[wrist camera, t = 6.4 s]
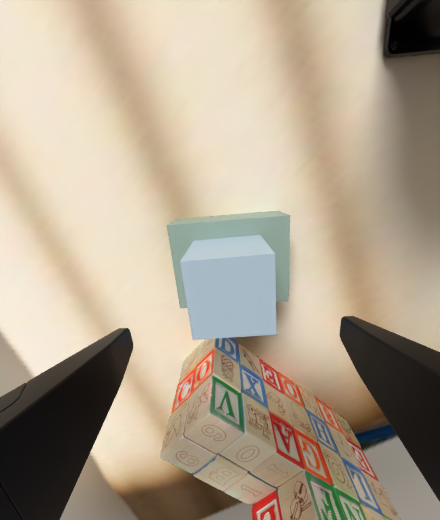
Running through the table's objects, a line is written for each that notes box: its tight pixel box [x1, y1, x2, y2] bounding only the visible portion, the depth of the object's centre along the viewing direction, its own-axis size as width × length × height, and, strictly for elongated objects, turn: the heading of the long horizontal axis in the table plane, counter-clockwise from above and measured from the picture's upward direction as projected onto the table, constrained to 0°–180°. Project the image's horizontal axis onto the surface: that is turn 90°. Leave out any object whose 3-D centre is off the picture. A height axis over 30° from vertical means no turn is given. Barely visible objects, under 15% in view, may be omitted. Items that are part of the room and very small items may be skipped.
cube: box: [180, 235, 277, 340], centre depth 14 cm, size 5×5×5 cm
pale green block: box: [167, 211, 290, 308], centre depth 18 cm, size 9×7×4 cm
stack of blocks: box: [160, 338, 400, 520], centre depth 20 cm, size 21×6×12 cm, turn 50°
